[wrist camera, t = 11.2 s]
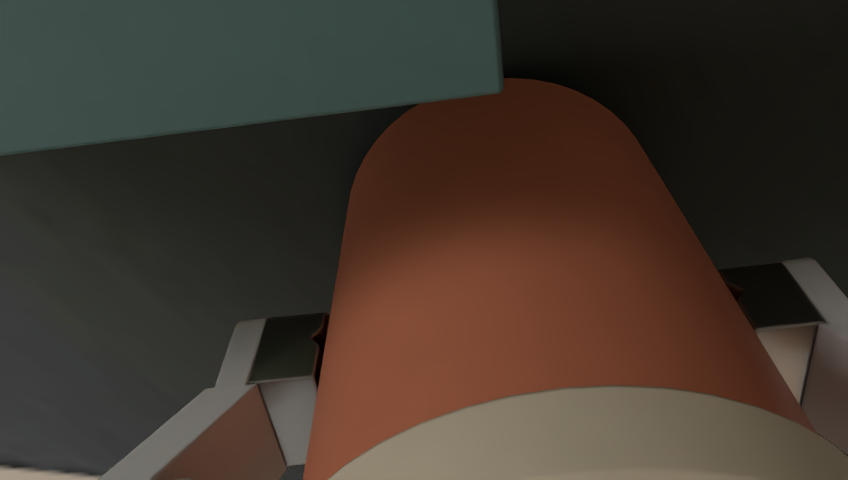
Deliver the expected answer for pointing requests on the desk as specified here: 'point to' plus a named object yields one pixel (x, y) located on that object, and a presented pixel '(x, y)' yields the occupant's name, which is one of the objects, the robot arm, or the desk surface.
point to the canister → (539, 314)
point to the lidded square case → (229, 63)
